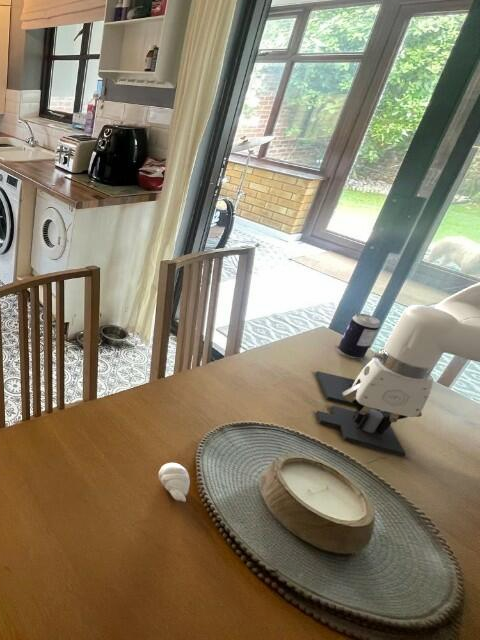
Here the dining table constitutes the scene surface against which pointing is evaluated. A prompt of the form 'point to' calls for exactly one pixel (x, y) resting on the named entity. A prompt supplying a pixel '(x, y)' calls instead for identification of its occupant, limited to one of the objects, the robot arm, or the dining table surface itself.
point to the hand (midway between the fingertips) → (367, 426)
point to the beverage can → (359, 335)
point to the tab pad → (367, 433)
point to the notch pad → (335, 387)
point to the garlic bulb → (175, 480)
